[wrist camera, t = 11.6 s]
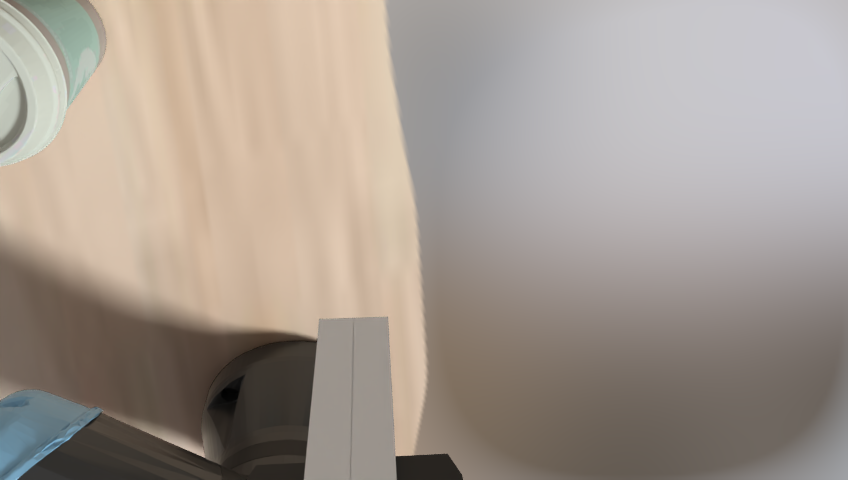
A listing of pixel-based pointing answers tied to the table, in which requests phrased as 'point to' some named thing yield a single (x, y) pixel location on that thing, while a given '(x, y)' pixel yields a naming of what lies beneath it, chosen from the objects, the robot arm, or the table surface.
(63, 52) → the coffee cup
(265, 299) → the table surface
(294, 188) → the table surface
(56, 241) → the table surface
